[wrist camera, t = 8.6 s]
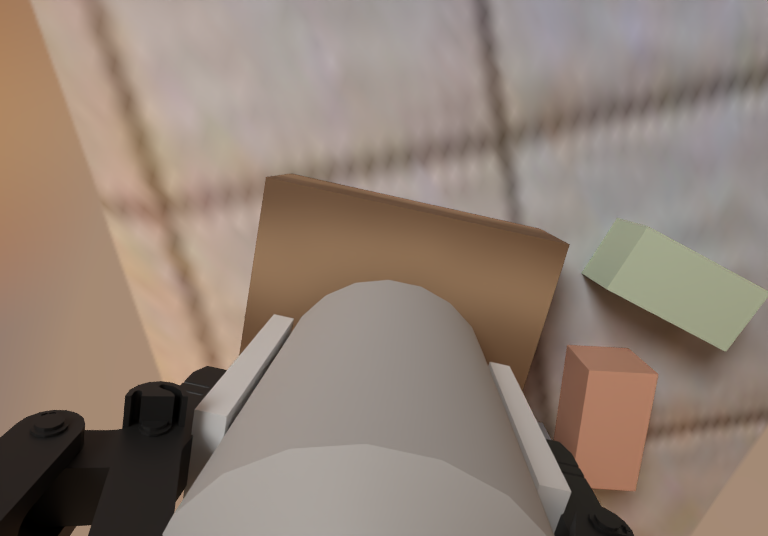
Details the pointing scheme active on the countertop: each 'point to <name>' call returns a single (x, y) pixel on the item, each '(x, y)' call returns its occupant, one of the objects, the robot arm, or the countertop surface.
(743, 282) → the brick sage
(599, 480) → the brick terracotta
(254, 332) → the walnut block
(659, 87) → the countertop surface
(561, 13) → the countertop surface
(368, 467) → the can
